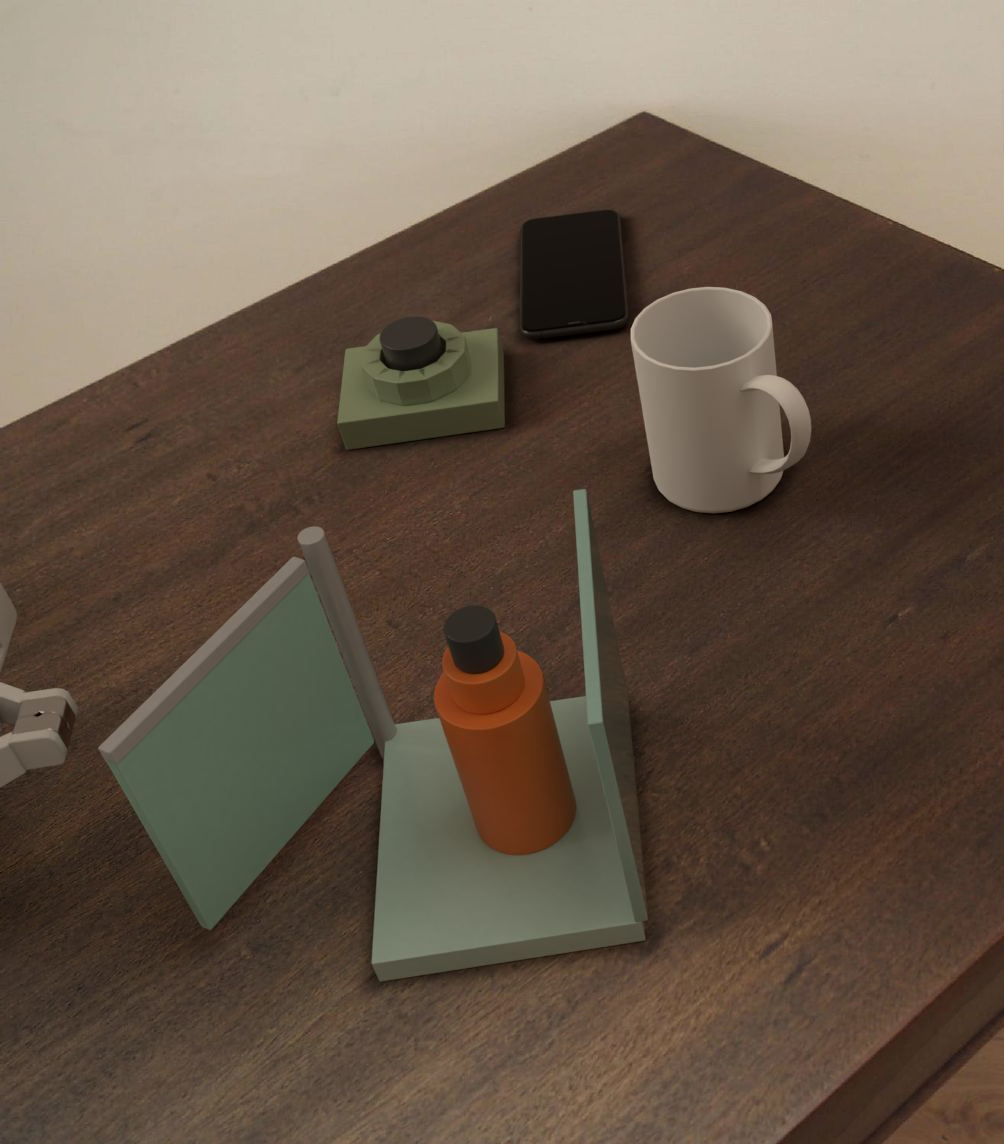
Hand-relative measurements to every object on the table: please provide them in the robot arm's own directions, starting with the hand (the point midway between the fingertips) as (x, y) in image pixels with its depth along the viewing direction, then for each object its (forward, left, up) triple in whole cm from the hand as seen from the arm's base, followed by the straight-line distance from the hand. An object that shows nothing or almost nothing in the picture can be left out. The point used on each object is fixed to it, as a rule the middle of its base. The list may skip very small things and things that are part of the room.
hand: (67, 724), depth 67 cm
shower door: (+6, +1, -10) cm, 11 cm away
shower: (+17, -1, -12) cm, 20 cm away
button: (+12, +36, -8) cm, 38 cm away
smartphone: (+22, +47, -12) cm, 54 cm away
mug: (+31, +22, -12) cm, 40 cm away
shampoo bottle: (+18, -1, -10) cm, 20 cm away
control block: (+12, +35, -12) cm, 39 cm away
